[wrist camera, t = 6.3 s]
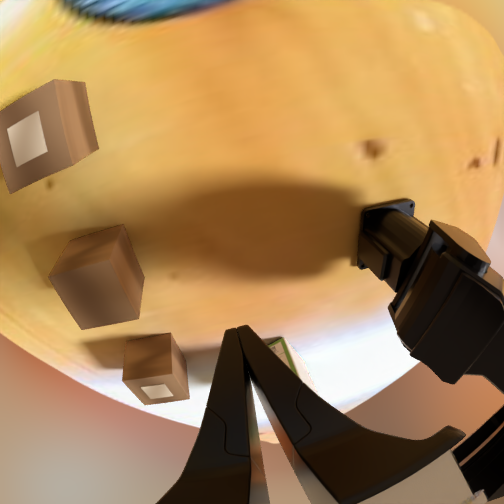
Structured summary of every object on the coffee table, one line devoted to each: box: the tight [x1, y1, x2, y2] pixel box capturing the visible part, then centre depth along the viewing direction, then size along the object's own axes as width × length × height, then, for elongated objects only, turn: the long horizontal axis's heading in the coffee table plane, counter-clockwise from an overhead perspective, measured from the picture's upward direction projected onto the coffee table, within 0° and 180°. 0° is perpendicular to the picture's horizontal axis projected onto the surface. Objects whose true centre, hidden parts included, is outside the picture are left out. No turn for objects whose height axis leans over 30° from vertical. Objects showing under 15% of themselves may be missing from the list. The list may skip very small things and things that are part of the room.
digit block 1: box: [0, 79, 99, 194], centre depth 12 cm, size 5×5×5 cm
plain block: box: [48, 224, 145, 330], centre depth 18 cm, size 5×5×5 cm
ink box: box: [268, 338, 319, 396], centre depth 26 cm, size 7×4×13 cm, turn 29°
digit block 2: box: [122, 333, 190, 405], centre depth 24 cm, size 5×5×5 cm
